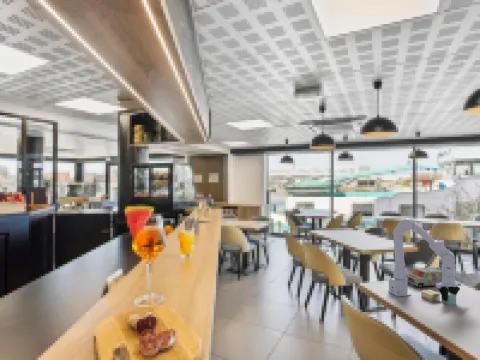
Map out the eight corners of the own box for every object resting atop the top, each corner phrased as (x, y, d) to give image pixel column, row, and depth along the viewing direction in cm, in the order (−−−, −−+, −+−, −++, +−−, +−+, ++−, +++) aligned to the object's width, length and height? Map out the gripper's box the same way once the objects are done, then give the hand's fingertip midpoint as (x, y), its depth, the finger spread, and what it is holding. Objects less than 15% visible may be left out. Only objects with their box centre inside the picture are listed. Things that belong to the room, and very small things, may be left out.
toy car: (403, 283, 184) (403, 267, 184) (437, 281, 187) (437, 265, 188) (416, 289, 173) (416, 272, 173) (452, 286, 177) (452, 270, 177)
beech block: (431, 302, 154) (431, 294, 154) (421, 297, 160) (421, 290, 160) (439, 300, 156) (439, 293, 156) (429, 296, 162) (429, 289, 162)
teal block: (449, 305, 150) (449, 295, 150) (441, 301, 154) (441, 292, 154) (456, 304, 151) (456, 294, 151) (448, 300, 155) (448, 291, 156)
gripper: (444, 278, 147) (444, 304, 147) (466, 276, 151) (466, 301, 151) (432, 274, 154) (432, 299, 154) (453, 272, 158) (454, 296, 157)
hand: (448, 300), depth 153 cm, fingers closed on teal block, 4 cm apart
